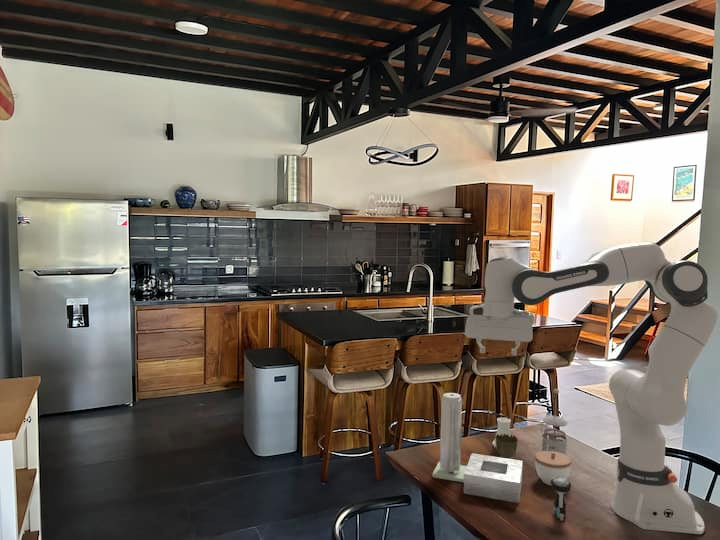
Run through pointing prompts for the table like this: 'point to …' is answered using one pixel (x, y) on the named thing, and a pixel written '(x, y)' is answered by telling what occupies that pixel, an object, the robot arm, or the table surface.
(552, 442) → the french press
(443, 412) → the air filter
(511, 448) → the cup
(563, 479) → the push button
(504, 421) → the vase
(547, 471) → the lidded jar
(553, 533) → the table surface
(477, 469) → the bore block
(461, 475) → the pad
